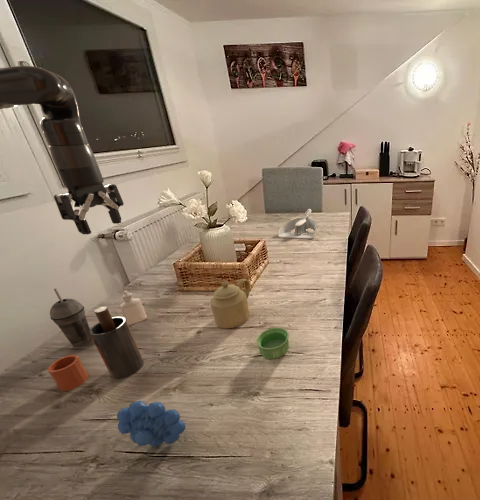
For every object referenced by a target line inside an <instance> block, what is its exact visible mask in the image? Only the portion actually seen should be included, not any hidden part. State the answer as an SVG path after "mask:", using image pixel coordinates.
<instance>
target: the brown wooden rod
mask: <svg viewBox="0 0 480 500" xmlns="http://www.w3.org/2000/svg"><path fill="white" fill-rule="evenodd" d="M94 314H95V316H96V318H97V321H98V323H99V322H100V324H101V326H102V329H103V331H104V333H106V332H109V331H111V330H114V329H116V326H115V324H114V322H113V320H112V315H111V313H110V311H109V308H108V307H107V306H101V307H98V308H96V309H95V310H94Z"/></svg>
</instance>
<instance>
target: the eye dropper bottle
mask: <svg viewBox="0 0 480 500" xmlns="http://www.w3.org/2000/svg"><path fill="white" fill-rule="evenodd" d="M121 297H122V300H123V302H122V303H120V305H119V309H120V311H121V314H122V317H124V318H125V319H126V321H127V323H128V326H131V325H134V324H137V323H140V322H141V321H142V322H144V321H145V320H146V319H147V318H148V316H147V313H146V310H145V308H144V305H143V303H142V300H141V299H140V298H138V297H135V298H134V297H133V294H132V293H131V292H128V291H127V290H124V291H123V295H122V296H121Z"/></svg>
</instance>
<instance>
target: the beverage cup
mask: <svg viewBox="0 0 480 500" xmlns="http://www.w3.org/2000/svg"><path fill="white" fill-rule="evenodd" d="M57 289H58V288H53V291H54V293H55V295H56V296H57V298H58V301H56V302H54V303H53V304H52V306H51V307H50V309H49V317H50V319H51V320H52V321H53V323H54V324H55V325H57V327H58V328H59V329H60V331H61V332H62V333H63V335H64V336H65V338H66V339H67V340H68V342H69V343H70V344H71V345H72V346H73V347H74V348H79V347H84V346H86V345H88V344H89V343H91V342H92V341H93V339H92V337H91V335H90V333H89V331H90V329H91V328H90V325H89V322H88V319H87V316H86V310H85V306H84V305H83V304H82V303H81V302H80V301H79V300H77V299H74V298H62V297H61V295H60V292H59V291H58V290H57Z"/></svg>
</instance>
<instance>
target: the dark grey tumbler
mask: <svg viewBox="0 0 480 500" xmlns="http://www.w3.org/2000/svg"><path fill="white" fill-rule="evenodd" d="M111 317H112V316H111ZM112 320H113V322H114V324H115V326H116V329H114V330H111V331H109V332H106V333H104V331H103V329H102V326H101V324H100V322H99V321H98V322H97V323H95V324H94V325H92V327H91V328H90V331H89V333H90V335H91V337H92V341H93V343H94V345H95V347H96V350H97V351H98V354H99V356H100V357H101V360H102V361H103V363H104V366H105V367H106V369H107V372H108V373H109V375H110V378H111V379H113V380H123V379H126V378H129V377H131V376H133V375H135V374H136V373H137V372H139V371H140V370H141V369H142V367H143V366H144V363H145V362H144V358H143V357H142V354H141V352H140V349H139V346H138V345H137V342H136V339H135V338H134V335H133V333H132V331H131V328H130V325H128V323H127V321H126V319H125V318H124V316H113V317H112Z"/></svg>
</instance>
